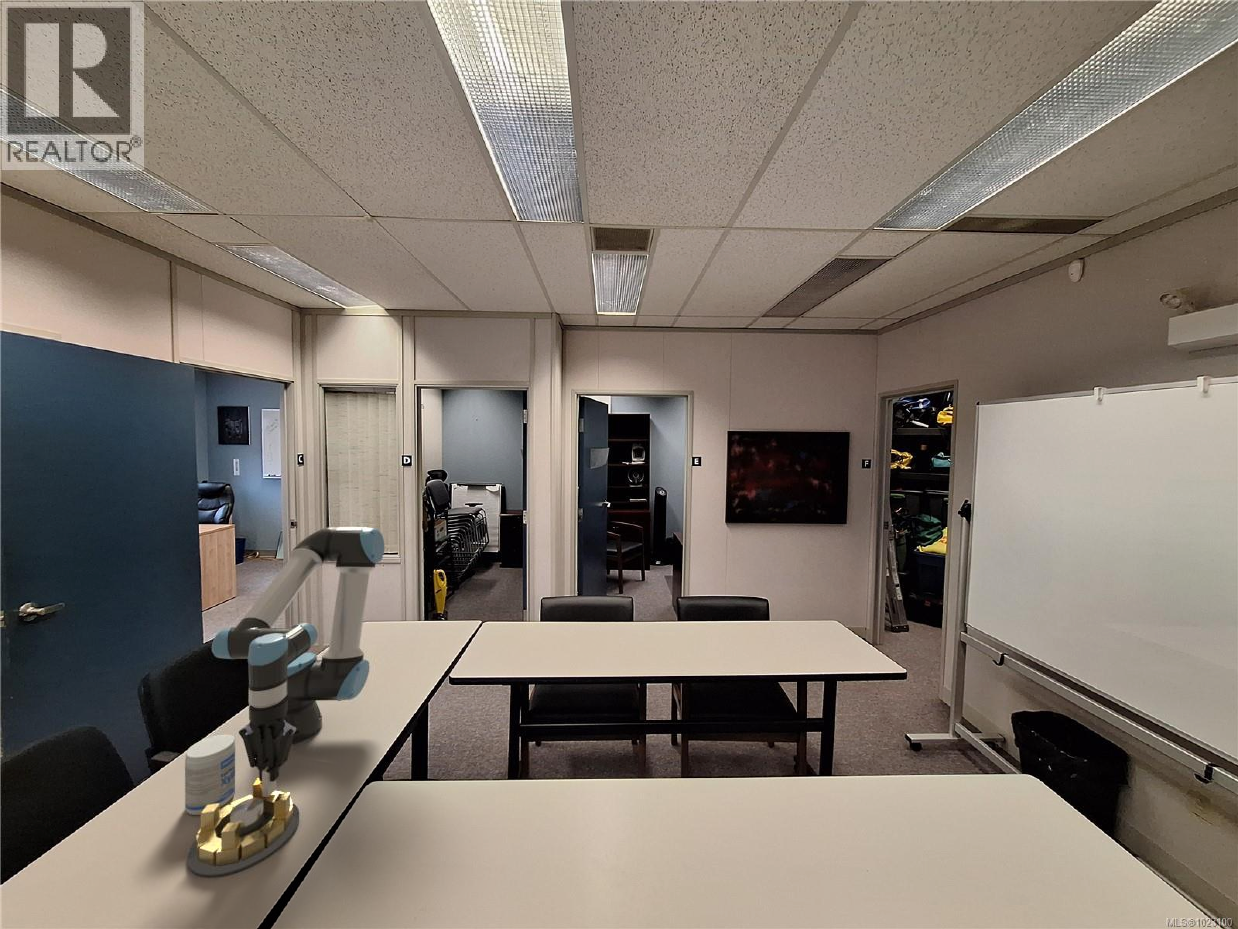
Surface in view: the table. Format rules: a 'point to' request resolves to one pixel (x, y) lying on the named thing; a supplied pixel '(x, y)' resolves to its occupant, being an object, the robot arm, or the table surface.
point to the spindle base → (247, 861)
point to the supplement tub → (209, 773)
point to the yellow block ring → (230, 841)
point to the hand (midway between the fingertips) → (269, 792)
